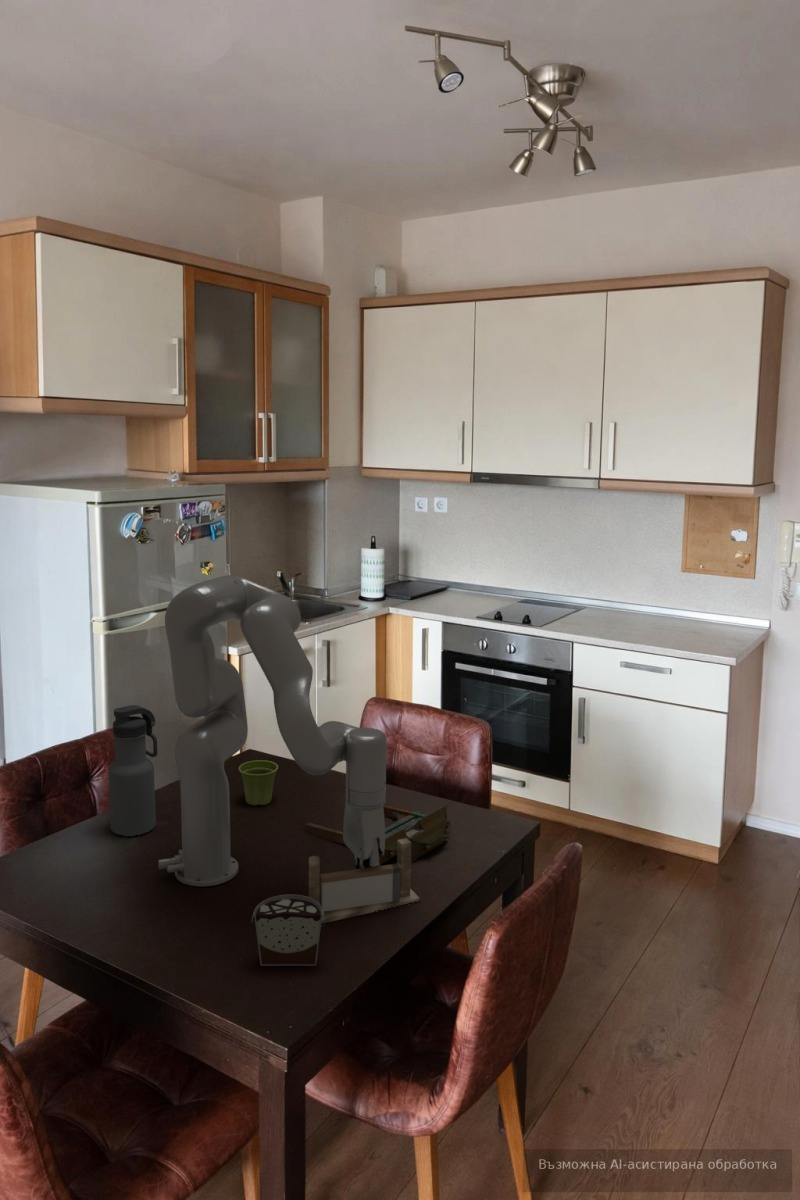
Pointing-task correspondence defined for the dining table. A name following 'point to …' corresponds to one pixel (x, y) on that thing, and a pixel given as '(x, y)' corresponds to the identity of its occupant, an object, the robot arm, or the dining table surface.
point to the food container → (288, 930)
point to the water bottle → (132, 773)
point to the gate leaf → (360, 887)
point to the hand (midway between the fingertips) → (364, 884)
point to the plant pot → (258, 781)
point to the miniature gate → (400, 831)
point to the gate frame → (338, 914)
